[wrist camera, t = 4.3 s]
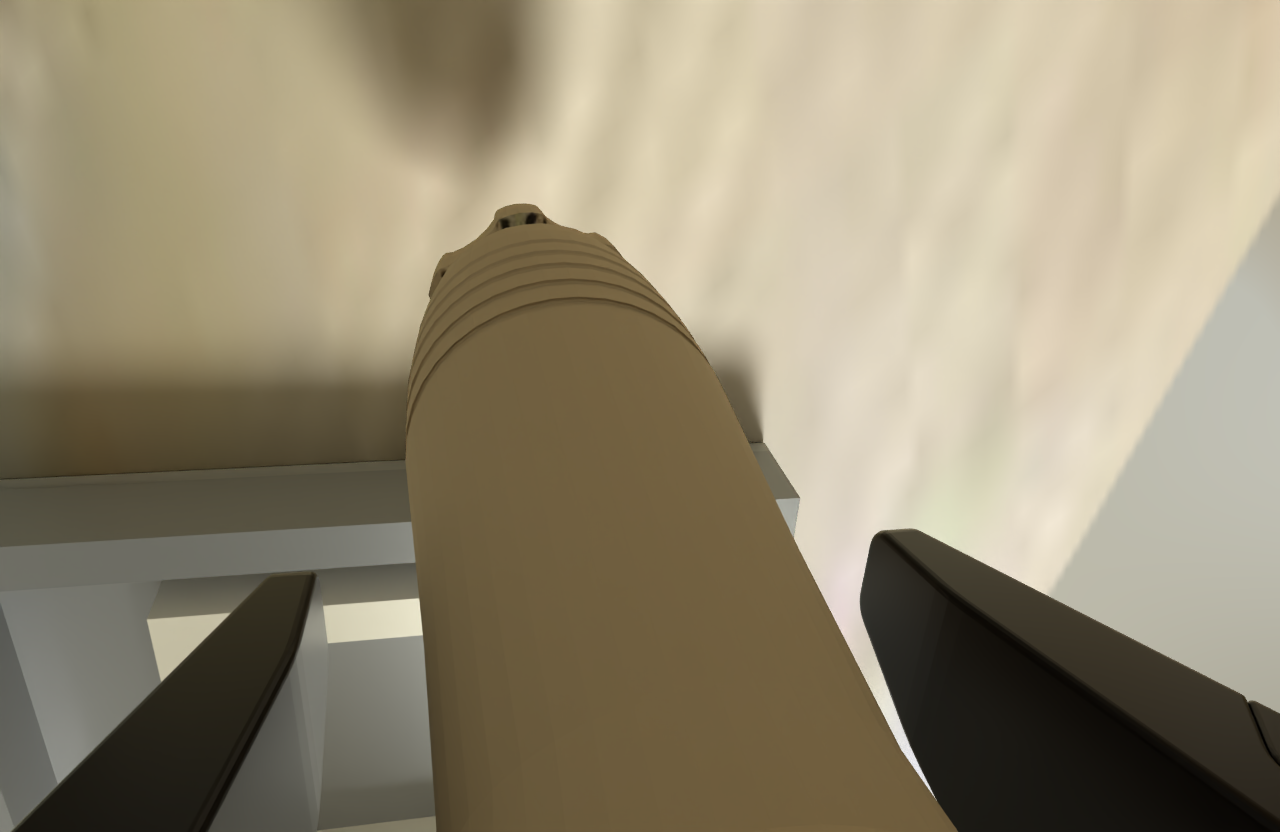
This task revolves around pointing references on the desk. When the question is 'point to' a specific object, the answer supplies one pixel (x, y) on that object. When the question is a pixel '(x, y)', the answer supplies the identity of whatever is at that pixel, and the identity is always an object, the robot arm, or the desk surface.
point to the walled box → (220, 615)
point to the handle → (616, 572)
